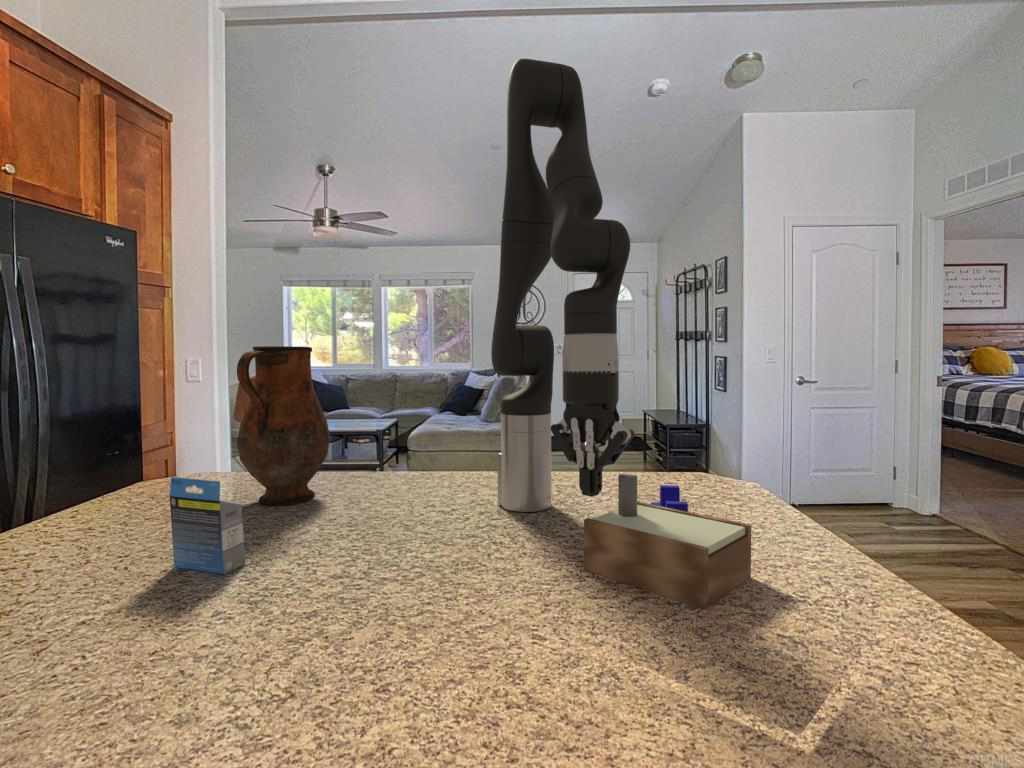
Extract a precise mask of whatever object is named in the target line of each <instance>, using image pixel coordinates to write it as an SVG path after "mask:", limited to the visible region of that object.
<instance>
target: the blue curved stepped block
mask: <svg viewBox="0 0 1024 768" xmlns="http://www.w3.org/2000/svg"><path fill="white" fill-rule="evenodd" d="M680 489H681V487H680V486H679V485H669V484H668V485H667V484H666V485H665V484H660V485H659V502H653V501H651V502H650V504H652V505H657V506H662V507H667V508H672V509H676V510H681V511H686V512H689V503H688V501H681V500H680V499H681V497H680V496H681V493H680V491H681V490H680Z"/></svg>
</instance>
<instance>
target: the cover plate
mask: <svg viewBox="0 0 1024 768" xmlns="http://www.w3.org/2000/svg"><path fill="white" fill-rule="evenodd" d="M617 477H618V478H617V479H618V486H617V487H618V499H617V500H618V501H617V503H618V505H617V506H618V508H617V509H616V510H612V511H610V512H607V513H603V514H601V515H597V516H596V517H595V516H594V517H592V518H591V519H594V520H598V521H602V522H606V523H610V524H614V525H618V526H622V527H626V528H630V529H634V530H638V531H642V532H647V533H651V534H655V535H659V536H663V537H667V538H671V539H675V540H679V541H683V542H687V543H691V544H695V545H699V546H704V547H708V548H709V554H711V553H713V552H715V551H716V550H718V549H720V548H722V547H724V546H725V545H727V544H729V543H731V542H733V541H734V540H736V539H738V538H740V537H742V536H743V535H745V527H742V526H737V525H733V524H728V523H723V522H718V521H713V520H709V519H704V518H699V517H694V516H689V515H685V514H680V513H675V512H670V511H665V510H661V509H656V508H651V507H646V506H641V505H637V502H638V475H636V474H631V473H630V474H629V473H622V474H618V476H617Z"/></svg>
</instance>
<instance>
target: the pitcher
mask: <svg viewBox="0 0 1024 768" xmlns="http://www.w3.org/2000/svg"><path fill="white" fill-rule="evenodd" d="M312 352H313V348H312V347H311V346H287V345H286V346H283V345H282V346H281V345H280V346H273V345H271V346H270V345H269V346H263V345H262V346H258V345H257V346H255V345H254V346H252V351H246V352H244V353H242V355H241V356H240V358H239V359H238V362H237V364H236V375H237V381H238V382H239V385H240V386H241V387H242V389H243V390H244V391H245V393H246V394H247V395H248V396H249V398H250V401H249V404H248V407H247V409H246V412H245V414H244V415H243V418H242V421H241V424H240V425H239V426H240V427H239V431H238V436H237V440H236V444H237V451H238V457H239V460H240V462H241V464H242V465H243V466H244V468H245V469H246V471H247V472H248V473H249V474H250V476H251V477H253V478H254V479H255V481H257V482H258V483H259V484H260V485H262V487H264V488H265V492H264V494H262V495H261V496H260V497H259V498H258V503H260V504H261V505H263V504H265V505H264V506H268V505H280V506H288V505H287V504H290V505H294V504H293V503H296V504H299V502H300V503H303V501H304V502H306V500H307V501H309V500H311V499H313V498H314V497H315V496H316V493H315V491H314V490H313V489H310V488H309V487H308V484H309V482H310V481H311V480H312V479H313V478H314V476H315V475H316V474H317V473H318V471H319V470H320V469H321V467H322V465H323V464H324V462H325V460H326V458H327V457H328V453H329V448H330V441H331V434H330V428H329V424H328V420H327V418H326V416H325V413H324V411H323V409H322V406H321V404H320V403H321V402H320V401H319V399H318V396H317V394H316V392H315V390H314V384H313V376H312V363H311V358H312V357H311V356H312ZM253 359H254V361H255V362H254V363H255V364H254V365H255V377H254V385H253V383H252V380H251V377H250V366H251V365H250V364H251V362H252V361H253Z"/></svg>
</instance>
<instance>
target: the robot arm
mask: <svg viewBox="0 0 1024 768" xmlns="http://www.w3.org/2000/svg"><path fill="white" fill-rule="evenodd" d="M507 86H508V87H507V99H506V100H507V101H506V102H507V103H506V107H507V108H506V129H507V130H506V172H505V173H506V174H505V187H504V197H503V198H504V199H503V209H502V220H501V234H500V235H501V236H500V259H499V260H500V263H499V264H500V265H499V277H498V278H499V282H498V283H499V284H498V291H497V302H496V307H495V309H496V310H495V317H494V322H493V332H492V339H491V349H490V350H491V352H490V353H491V365H492V368H493V371H494V372H495V374H497V375H499V376H503V377H521V376H523V377H524V376H525V377H526V376H528V377H529V378H528V382H527V384H526V385H524V386H523V387H522V388H521V389H520V388H519V390H517V391H515V392H512V393H510V394H507V395H505V396H504V397H502V398H501V400H500V447H501V448H500V452H498V454H497V505H500V506H501V507H502V508H503V509H504V510H508V511H512V512H520V513H521V512H522V513H530V512H531V513H532V512H541V511H544V510H549V508H551V507H552V434H553V437H554V438H555V441H556V442H557V443H558V445H559V447H560V449H561V451H562V453H563V455H564V456H565V457H566V459H567V461H568V462H570V463H571V462H572V463H574V464H576V465H577V467H578V471H579V472H578V473H579V477H578V479H579V481H578V482H579V489H580V491H581V494H582V496H586V497H587V496H588V497H595V496H599V494H600V492H601V491H602V489H603V468H604V467H606V466H609V465H615V464H616V462H617V460H618V459H619V458H620V457H621V455H622V454H623V452H624V451H625V450H626V448H627V447H628V445H629V444H630V443H631V442H632V440H633V439H634V437H635V432H634V430H633V429H627V428H626V427H625V426H624V425H623V424H622V423H621V422H620V420H621V419H620V417H621V416H620V414H619V412H618V409H617V406H618V402H619V399H620V398H619V397H620V395H619V393H620V392H619V390H620V389H619V388H620V387H619V386H620V384H619V383H620V382H619V377H620V376H619V375H620V373H619V367H620V366H619V363H620V362H619V361H620V360H619V345H618V338H617V337H618V335H617V334H618V331H617V330H618V329H617V328H618V324H617V323H618V320H617V316H618V315H617V312H618V311H617V310H618V309H617V307H618V299H619V295H620V290H621V286H622V282H623V277H624V275H625V272H626V268H627V264H628V261H629V256H630V252H631V237H630V235H629V232H628V230H627V229H626V227H625V225H624V224H623V223H622V222H620V221H618V220H615V219H604V218H603V219H601V218H599V219H598V218H596V217H597V216H599V214H600V212H601V211H602V207H603V202H604V200H603V194H602V190H601V188H600V185H599V182H598V177H597V175H596V172H595V171H596V170H595V168H594V166H593V162H592V161H593V160H592V158H591V153H590V149H589V140H588V128H587V119H586V111H585V109H586V108H585V103H584V93H583V87H582V82H581V79H580V77H579V74H578V72H577V70H576V69H575V68H574V67H572V66H570V65H568V64H567V65H566V64H564V63H558V62H552V61H545V60H537V59H532V58H531V59H530V58H519V59H517V60H516V61H515V62H514V64H513V65H512V68H511V71H510V74H509V78H508V85H507ZM532 126H535V127H536V126H537V127H543V128H549V129H550V128H551V129H554V128H558V129H559V130H560V132H561V136H560V137H559V140H558V141H557V143H556V144H555V146H554V147H553V149H552V150H551V153H550V154H549V156H548V159H547V163H546V167H545V180H544V178H543V176H542V174H541V172H540V169H539V166H538V164H537V161H536V158H535V154H534V149H533V143H532V141H533V140H532ZM551 259H552V261H553V262H554V264H555V265H556V266H557V267H558V268H559V269H561V270H562V271H565V272H568V273H570V272H571V273H591V274H592V273H593V274H594V273H595V274H596V278H595V281H594V282H593V285H592V286H591V287H589V288H583V289H577V290H573V291H571V292H569V293H568V294H566V296H565V297H564V298H565V299H564V303H563V304H564V305H563V306H564V307H563V311H564V312H563V313H564V315H563V317H564V319H563V320H564V323H563V324H564V327H563V329H564V331H563V332H564V336H563V337H564V339H563V345H562V346H563V347H562V401H563V402H564V403H565V409H564V411H563V413H562V414H563V415H562V416H563V418H562V419H561V420H560V421H559V422H558V423H554V424H552V401H553V393H554V392H553V389H554V388H553V385H554V384H553V382H554V381H553V379H554V362H555V361H554V360H555V345H554V342H555V341H554V336H553V333H552V331H551V330H550V329H549V327H548V326H546V325H542V324H541V325H539V324H535V325H534V324H533V325H531V324H529V325H528V324H517V322H518V318H519V315H520V310H521V307H522V304H523V303H524V301H525V300H524V299H525V298H526V295H528V292H529V291H530V289H531V288H532V286H533V285H534V284H535V282H536V281H537V280H538V278H539V277H540V275H541V274H542V273H543V271H545V268H547V265H548V264H549V263H550V261H551ZM609 439H611V440H610V441H609Z"/></svg>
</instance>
